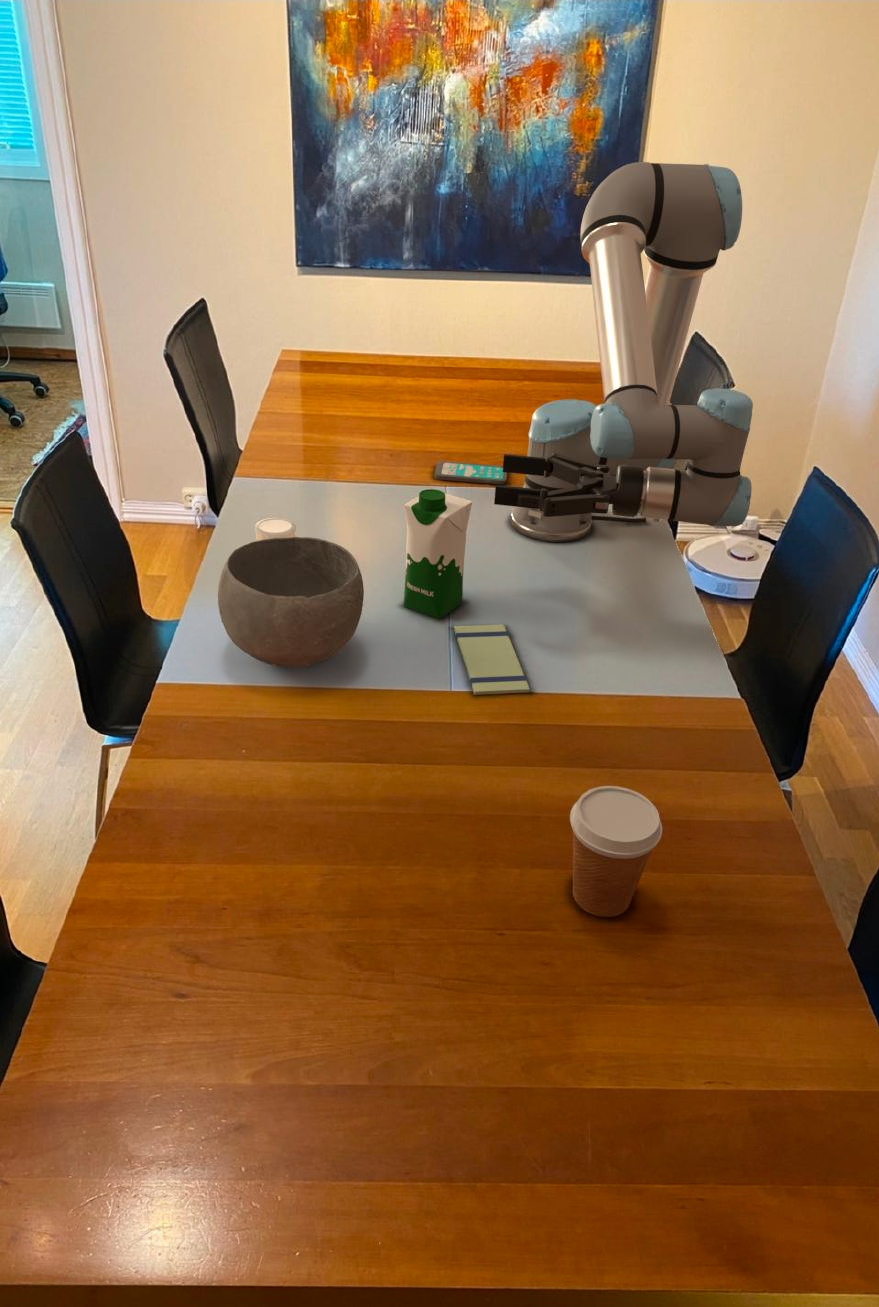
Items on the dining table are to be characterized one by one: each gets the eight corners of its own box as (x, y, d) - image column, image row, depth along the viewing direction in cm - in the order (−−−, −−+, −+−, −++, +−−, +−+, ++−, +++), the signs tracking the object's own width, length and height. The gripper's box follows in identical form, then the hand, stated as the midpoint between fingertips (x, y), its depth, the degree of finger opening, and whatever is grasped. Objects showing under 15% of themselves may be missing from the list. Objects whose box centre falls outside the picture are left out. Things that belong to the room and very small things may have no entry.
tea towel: (503, 627, 155) (504, 624, 155) (529, 692, 140) (530, 688, 140) (453, 629, 154) (453, 625, 154) (474, 695, 139) (474, 691, 139)
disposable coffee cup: (550, 865, 111) (563, 783, 105) (633, 863, 112) (650, 782, 106) (567, 930, 103) (581, 846, 97) (655, 927, 104) (675, 844, 98)
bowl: (248, 704, 134) (242, 609, 126) (205, 632, 149) (197, 543, 141) (385, 672, 143) (387, 581, 135) (331, 607, 158) (331, 521, 150)
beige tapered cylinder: (289, 574, 166) (288, 536, 163) (250, 568, 167) (248, 531, 164) (302, 556, 172) (301, 520, 168) (264, 551, 173) (263, 514, 169)
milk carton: (395, 607, 159) (399, 491, 148) (426, 585, 166) (431, 474, 155) (441, 624, 155) (448, 507, 144) (470, 601, 162) (479, 488, 151)
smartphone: (437, 459, 211) (507, 465, 210) (437, 464, 212) (507, 469, 211) (434, 475, 204) (506, 480, 203) (433, 479, 204) (505, 485, 204)
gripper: (639, 550, 138) (489, 534, 140) (635, 486, 159) (504, 473, 161) (648, 499, 134) (493, 484, 136) (642, 441, 155) (508, 428, 157)
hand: (499, 478), depth 148 cm, fingers open, 13 cm apart
